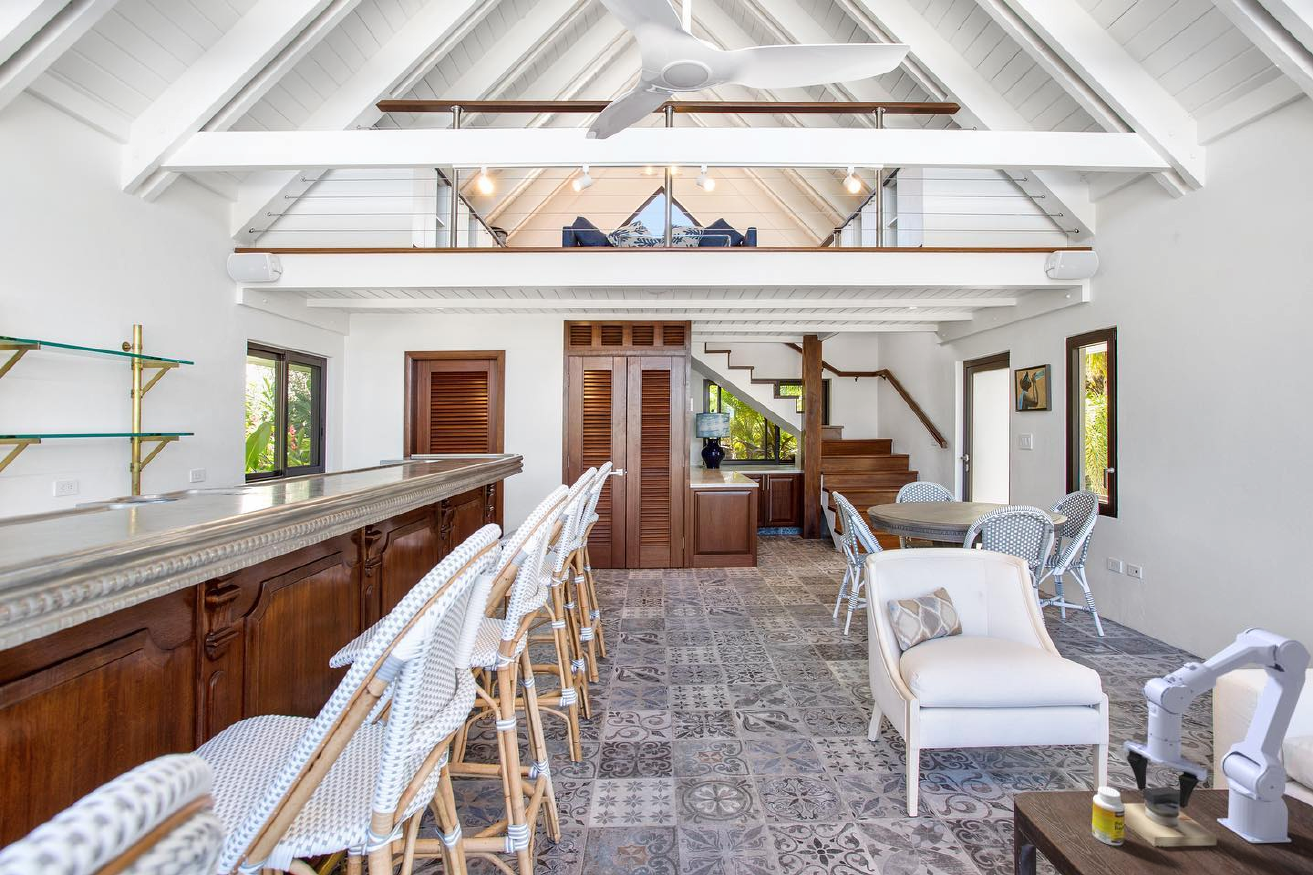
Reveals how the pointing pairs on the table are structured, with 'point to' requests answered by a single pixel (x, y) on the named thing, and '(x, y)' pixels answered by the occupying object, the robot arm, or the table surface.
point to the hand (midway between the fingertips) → (1162, 797)
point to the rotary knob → (1162, 800)
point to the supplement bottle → (1108, 816)
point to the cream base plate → (1166, 828)
